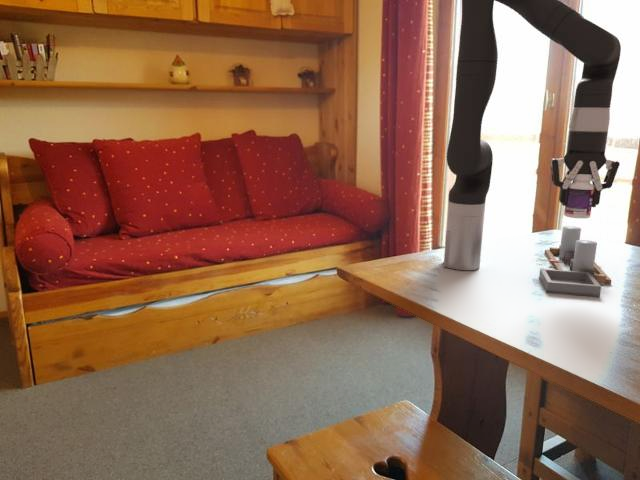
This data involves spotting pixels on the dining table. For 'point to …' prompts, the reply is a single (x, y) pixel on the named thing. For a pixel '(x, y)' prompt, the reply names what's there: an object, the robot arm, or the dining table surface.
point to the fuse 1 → (569, 239)
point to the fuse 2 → (584, 255)
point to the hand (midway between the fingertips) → (578, 205)
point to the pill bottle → (579, 197)
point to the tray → (569, 282)
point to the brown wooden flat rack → (569, 259)
